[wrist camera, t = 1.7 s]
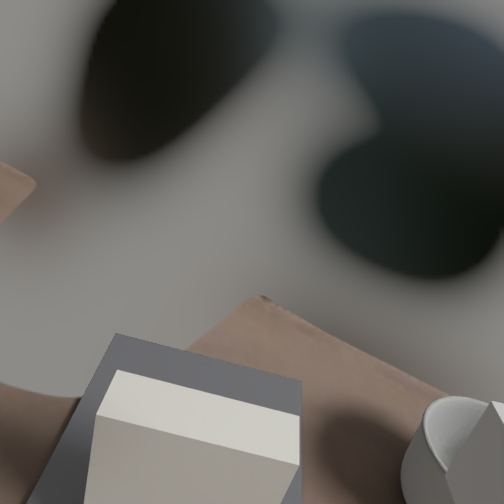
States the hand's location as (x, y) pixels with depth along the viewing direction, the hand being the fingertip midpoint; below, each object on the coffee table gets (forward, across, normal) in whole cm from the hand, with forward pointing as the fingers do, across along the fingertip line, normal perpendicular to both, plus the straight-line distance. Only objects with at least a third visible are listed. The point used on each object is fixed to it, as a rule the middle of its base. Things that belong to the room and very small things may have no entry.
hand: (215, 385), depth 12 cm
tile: (+9, 0, -22) cm, 24 cm away
